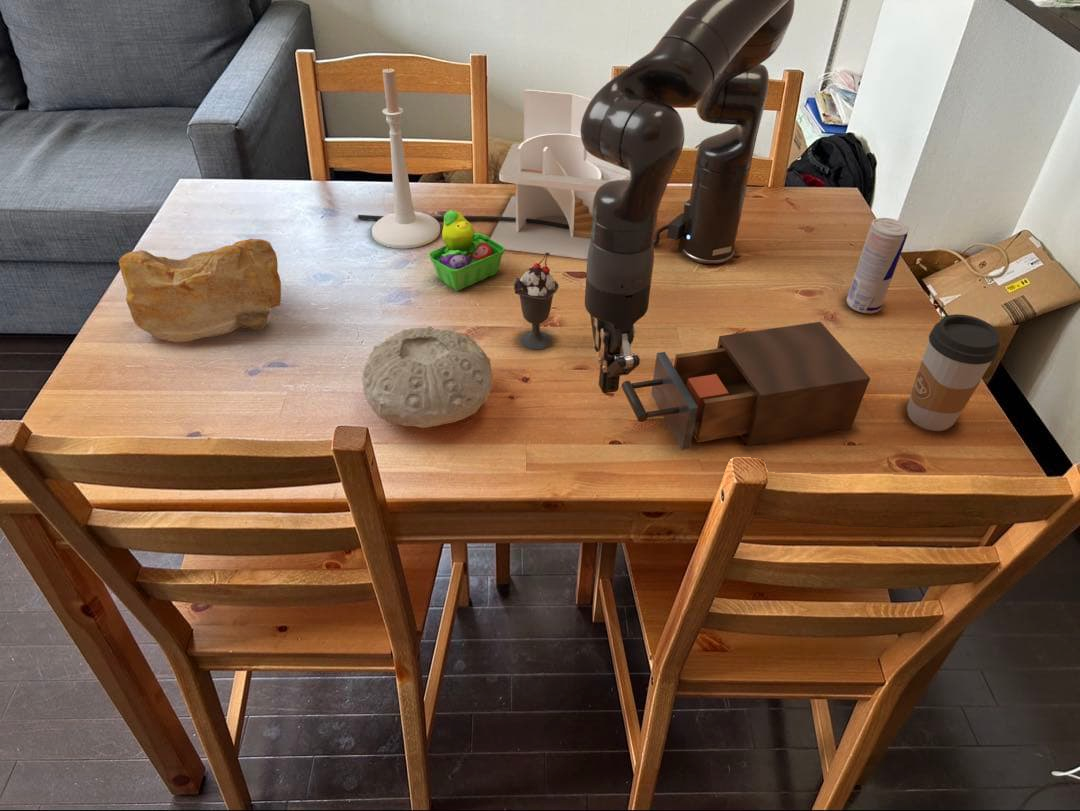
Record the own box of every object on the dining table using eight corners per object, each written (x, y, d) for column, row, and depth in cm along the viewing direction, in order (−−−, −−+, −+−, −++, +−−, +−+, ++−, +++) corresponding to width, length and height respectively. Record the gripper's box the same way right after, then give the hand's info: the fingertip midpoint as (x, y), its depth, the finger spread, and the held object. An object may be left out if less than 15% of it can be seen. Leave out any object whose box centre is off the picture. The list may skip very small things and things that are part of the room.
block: (695, 421, 106) (699, 397, 104) (683, 401, 109) (687, 378, 107) (723, 416, 107) (729, 393, 104) (711, 396, 110) (716, 373, 107)
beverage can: (882, 317, 129) (912, 236, 119) (847, 313, 130) (873, 231, 120) (878, 298, 133) (907, 218, 123) (844, 294, 134) (870, 214, 124)
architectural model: (485, 247, 144) (481, 121, 129) (512, 195, 160) (511, 77, 145) (637, 265, 140) (651, 137, 125) (649, 210, 156) (663, 91, 140)
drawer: (640, 457, 103) (646, 415, 98) (612, 399, 111) (617, 358, 106) (781, 433, 106) (794, 391, 101) (744, 379, 115) (753, 338, 110)
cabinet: (747, 447, 106) (761, 395, 100) (708, 386, 115) (719, 335, 109) (851, 429, 109) (870, 378, 102) (805, 371, 118) (820, 321, 112)
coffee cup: (888, 399, 114) (923, 313, 104) (943, 396, 114) (983, 310, 104) (913, 438, 107) (953, 351, 97) (972, 435, 108) (1017, 348, 98)
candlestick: (404, 209, 155) (387, 49, 135) (454, 228, 150) (443, 65, 130) (357, 234, 147) (331, 69, 127) (408, 255, 142) (389, 86, 122)
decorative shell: (449, 349, 121) (444, 294, 114) (519, 410, 111) (518, 354, 104) (344, 395, 112) (333, 339, 106) (410, 466, 102) (402, 408, 95)
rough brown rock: (308, 291, 134) (289, 207, 125) (288, 342, 121) (266, 253, 112) (170, 297, 133) (142, 214, 124) (135, 350, 120) (100, 261, 111)
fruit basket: (455, 297, 132) (451, 237, 124) (424, 276, 137) (419, 217, 129) (507, 274, 137) (506, 215, 130) (476, 254, 142) (474, 196, 135)
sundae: (562, 332, 125) (565, 249, 115) (548, 357, 120) (551, 272, 110) (523, 324, 126) (523, 241, 116) (508, 348, 121) (507, 263, 112)
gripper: (572, 248, 94) (566, 362, 105) (605, 309, 84) (595, 427, 96) (631, 241, 95) (619, 355, 107) (670, 300, 86) (653, 418, 97)
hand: (608, 389), depth 101 cm, fingers closed
